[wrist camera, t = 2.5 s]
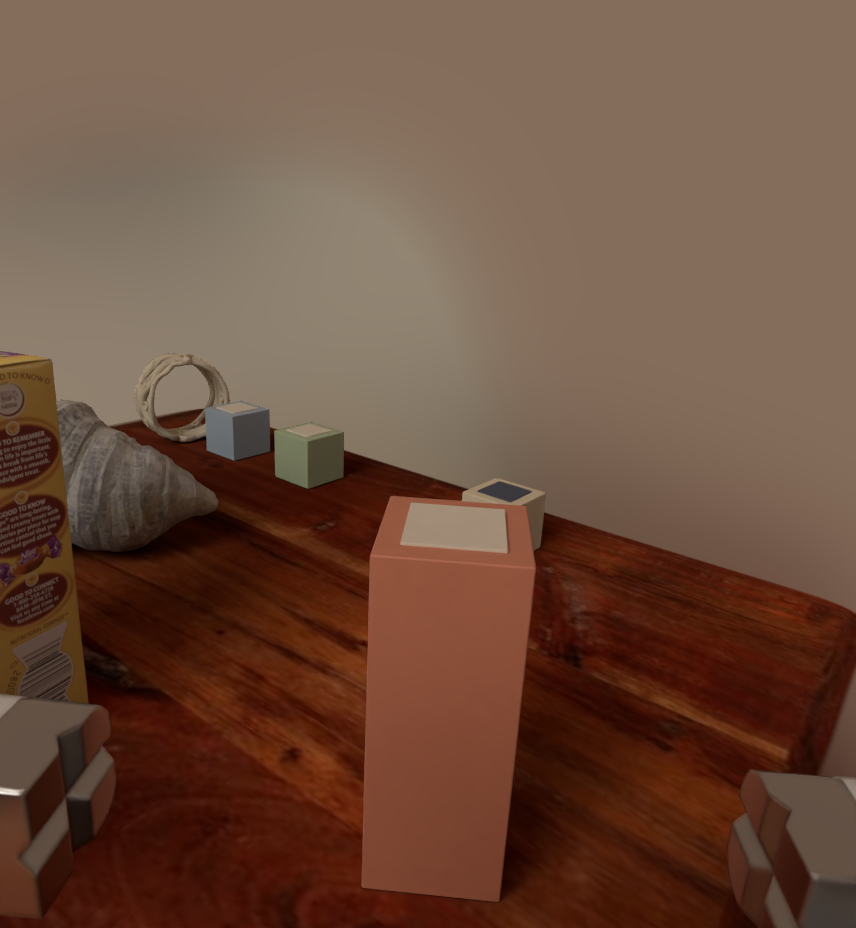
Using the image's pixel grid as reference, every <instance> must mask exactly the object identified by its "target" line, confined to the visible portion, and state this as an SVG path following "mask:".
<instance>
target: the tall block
mask: <svg viewBox="0 0 856 928" xmlns="http://www.w3.org/2000/svg"><path fill="white" fill-rule="evenodd" d="M535 576H536V564H535V558H534V551H533V544H532V538H531V531H530V525H529V518H528V511H527V507H526V506H520V505H506V504H493V503H479V502H466V501H452V500H439V499H425V498H412V497H398V496H391V497H390V500H389V502H388V505H387V508H386V511H385V514H384V517H383V520H382V523H381V526H380V529H379V531H378V534H377V537H376V540H375V543H374V546H373V549H372V552H371V555H370V576H369V615H368V654H367V692H366V731H365V769H364V808H363V847H362V888H367V889H377V890H386V891H396V892H405V893H415V894H425V895H434V896H444V897H453V898H463V899H472V900H482V901H491V902H499V901H500V895H501V886H502V877H503V867H504V858H505V849H506V840H507V831H508V822H509V813H510V804H511V794H512V785H513V776H514V767H515V758H516V749H517V740H518V731H519V722H520V712H521V703H522V694H523V685H524V676H525V667H526V658H527V649H528V639H529V630H530V621H531V612H532V603H533V594H534V585H535Z"/></svg>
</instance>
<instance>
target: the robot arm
mask: <svg viewBox="0 0 856 928" xmlns="http://www.w3.org/2000/svg"><path fill="white" fill-rule="evenodd" d="M111 733H112V729H111V722H110V715H109V711H108V710H107V709H106V708H104V707H103V706H101V705H94V704H86V703H78V702H70V701H62V700H53V699H45V698H37V697H24V696H16V695H7V694H0V916H11V917H23V918H36V919H43V918H44V916H45V914H46V913H47V911H48V910H49V908H50V907H51V905H52V904H53V902H54V901H55V899H56V897H57V896H58V894H59V893H60V891H61V890H62V888H63V887H64V885H65V883H66V882H67V880H68V879H69V877H70V876H71V874H72V873H73V871H74V862H73V854H72V852H74V851H76V850H77V849H79V848H80V847H82V846H84V845H85V844H87V843H88V842H90V841H91V840H93V839H94V838H95V836H96V835H97V833H98V831H99V830H100V828H101V827H102V825H103V823H104V822H105V820H106V818H107V815H108V812H109V809H110V806H111V803H112V800H113V797H114V792H115V783H116V768H115V760H114V759H113V758H112V757H111V755H110V754H109V753H108V752H107V751H106V749H105V748H104V747H103V746H102V745H103V744H104V743H105V741H106V740H107V739H108V737H109V736H110V734H111ZM739 796H740V799H741V801H742V803H743V806H744V808H745V810H746V812H745V813H744V814H743V815H742V816H741V817H739V818H738V819H737V820H736V821H734V822H733V823H732V825H731V830H730V835H729V840H728V845H727V853H728V872H729V877H730V882H731V886H732V890H733V893H734V896H735V898H736V901H737V904H738V907H739V909H740V910H741V911H742V912H743V913H744V914H745V915H746V916H747V917H748V918H750V919H751V920H752V921H753V922H754V923H755V924H756V925H757V928H856V778H855V777H841V776H833V777H827V776H817V775H807V774H796V773H785V772H774V771H763V770H752V769H749V771H748V772H747V774H746V775H745V777H744V778H743V781H742V785H741V789H740V792H739Z"/></svg>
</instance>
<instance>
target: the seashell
mask: <svg viewBox="0 0 856 928" xmlns="http://www.w3.org/2000/svg"><path fill="white" fill-rule="evenodd" d="M56 404H57V413H58V422H59V432H60V442H61V453H62V462H63V470H64V479H65V488H66V497H67V506H68V516H69V524H70V534H71V542H72V543H73V544H75V545H77V546H80V547H82V548H84V549H86V550H90V551H93V550H97V551H102V550H108V551H113V552H121V551H131V550H136V549H138V548H141V547H143V546H146V545H147V544H148V543H149V542H150V541H152V540H154V539H156V538H158V537H159V536H160V535H162V534H163V533H165V532H167V531H168V530H169V529H170V528H171V527H173V526H174V525H176V524H177V523H179V522H180V521H183V520H185V519H188V518H190V517H193V516H204V515H206V514H209V513H211V512H213V511H216V510H217V506H218V502H219V501H218V500H217V498H216V496H215V493H214V492H212V491H211V490H209V489H208V488H206V487H205V486H203V485H202V484H200V483H199V482H198V481H196V480H195V478H194V477H193V475H192V474H191V473H189V472H188V471H186V470H184V469H182V468H181V467H179V466H177V465H175V463H174V462H173V461H172V460H171V459H170V458H169V457H167V456H166V455H162V454H161V453H160V452H158V451H157V450H156V449H154V448H152V447H151V446H141V445H140V444H138V443H137V442H136V440H135V438H130V437H128V436H127V435H126V434H125V433H123V432H120V431H117V430H115V429H112V428H109V427H108V426H107V425H106V424H105V423H104V422H103V421H101V420H100V419H99V418H98V417H97V415H96V414H95V412H94V411H93V409H92V408H91V407H90V406H88V405H87V404H85V403H83V402H74V401H69V400H67V401H66V400H61V401H56Z"/></svg>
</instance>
